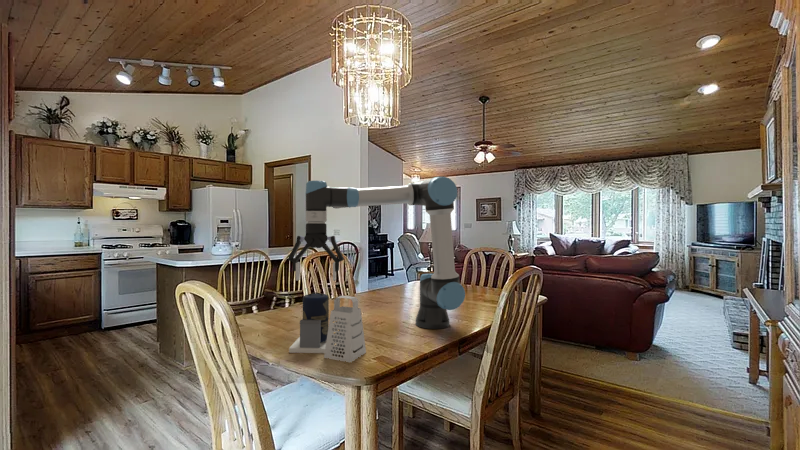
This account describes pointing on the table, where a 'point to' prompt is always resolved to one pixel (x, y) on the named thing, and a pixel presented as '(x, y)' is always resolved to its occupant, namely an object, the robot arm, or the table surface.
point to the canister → (317, 310)
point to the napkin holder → (309, 338)
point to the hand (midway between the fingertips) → (316, 280)
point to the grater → (345, 332)
